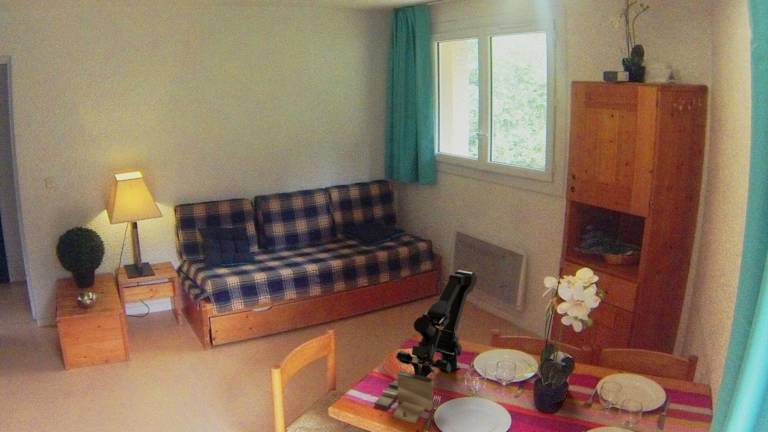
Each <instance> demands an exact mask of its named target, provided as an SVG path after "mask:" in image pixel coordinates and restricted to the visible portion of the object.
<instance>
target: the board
mask: <svg viewBox="0 0 768 432" xmlns="http://www.w3.org/2000/svg"><path fill="white" fill-rule="evenodd" d="M397 400H398V380H394V381H392V382H389V384H388V387H387V388H386V389H384V390H382V393H381V395H380V396H379V397H378V399H376V401H375V402H374V407H377V408H382V409H384V410H389V409H390V408H391V407H392V405H393V404H394V403H395V402H396V401H397Z"/></svg>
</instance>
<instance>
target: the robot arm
mask: <svg viewBox="0 0 768 432" xmlns="http://www.w3.org/2000/svg"><path fill="white" fill-rule="evenodd" d="M477 281H478V277H477V275H476V274H475V272H474V271H468V270H462V269H458V270H457V271H455V272H451V273H450V274H449V276H448V281H447V283H446V285H445V287H444V289H443V290H442V293H441V295H440V296H439V298H438V300H437V302H435V303H433V304H431V305H430V308H429V309H428V310H427V311H426V312H425V313H422V316H420V317H418V318H416V319H415V321H414V323H413V328H414V330H415V332H417V333H418V335H420V337H421V340H420V341H418V342H419V343H418V344H417V345H415V344H414V345H412V351H411V354H410V352H406V351H402V350H399V351H398V352H397V353H396V356H395V359H396V360H397V361H398V362H399V363H400V364H404V365H411V366H412V368H413V369H414V370H413V371H414V374H415V375H420V376H424V377H429V375H431V373H434V372H435V371H434V370H435V368H437V369H439V370H440V371H441V373H445V374H451V372H453V371H455V370H459V369H460V368H461V366H460V365H458V357H459V356H461V355H462V350H463V347H462V345H461V344H460V343H459V341H460V339H459V335H458V328H459V325H460V321H461V318H462V313H463V310H464V308H465V307H464V306H465V303H466V301H467V298H468V297H467V296H468V295H469V294H470V293H471V292H472V291H473V290H474V287H475V285H476V284H477ZM440 327H441V328H442V329H441V328H440ZM435 353H439V354H440V359H439V358H438V359H437V360H436V361H434V357H435Z"/></svg>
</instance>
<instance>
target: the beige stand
mask: <svg viewBox="0 0 768 432" xmlns="http://www.w3.org/2000/svg"><path fill="white" fill-rule="evenodd" d="M397 381H398V398H397V403H398V404H400V405H399V407H398V408H396V410H395V411H394V412H393V413H392V418H393V419H397V420H402V421H406V422H409V423H412V424H416V422H417V421H418V419H420V417H421V416H422V414H423V413H424V412H425V410H426V411H428V412H431V411H432V410H433V407H434V405H433V404H434V401H433V400H434V399H433V397H434V394H433V392H434V388H433V385H434V384H433V383H434V378H432V377H429V376H427V377H424V376H420V375H415V373H410V372H406V371H401V370H399V372H398V373H397Z"/></svg>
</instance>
